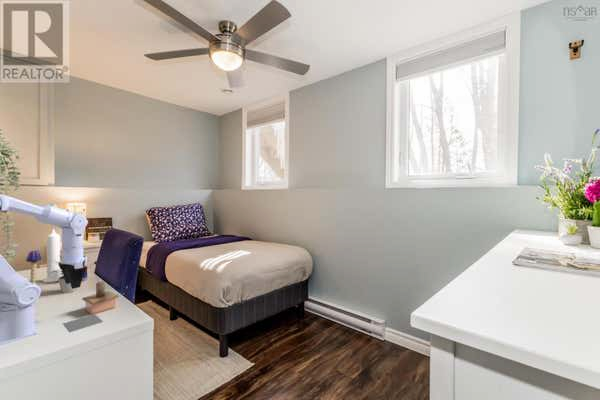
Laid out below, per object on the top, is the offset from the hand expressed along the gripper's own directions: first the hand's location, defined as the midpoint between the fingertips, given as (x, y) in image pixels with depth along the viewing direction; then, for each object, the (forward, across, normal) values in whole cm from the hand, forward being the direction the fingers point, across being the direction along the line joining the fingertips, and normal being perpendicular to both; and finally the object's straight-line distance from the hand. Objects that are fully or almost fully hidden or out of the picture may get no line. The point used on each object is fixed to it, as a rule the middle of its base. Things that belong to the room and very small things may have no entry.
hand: (72, 285), depth 92 cm
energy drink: (+10, +42, -12) cm, 45 cm away
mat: (+10, -12, 0) cm, 16 cm away
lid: (+6, -4, -7) cm, 10 cm away
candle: (+10, +51, -4) cm, 52 cm away
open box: (+10, -4, -7) cm, 13 cm away
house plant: (+10, +29, -4) cm, 31 cm away
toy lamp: (+10, +42, +4) cm, 43 cm away
